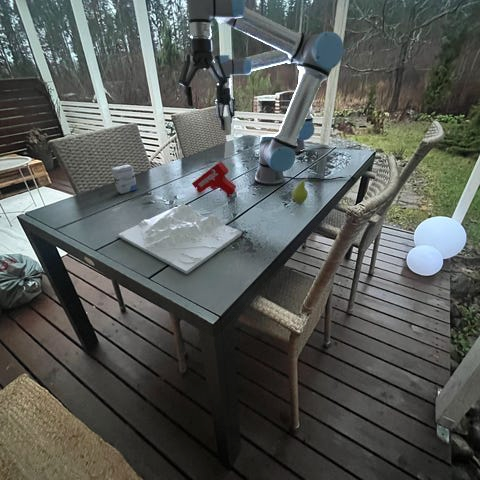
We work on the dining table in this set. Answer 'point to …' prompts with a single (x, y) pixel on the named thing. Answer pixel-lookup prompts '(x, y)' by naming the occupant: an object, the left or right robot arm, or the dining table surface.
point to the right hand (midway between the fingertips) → (226, 129)
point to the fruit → (300, 192)
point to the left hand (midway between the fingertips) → (205, 104)
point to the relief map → (181, 237)
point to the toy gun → (215, 180)
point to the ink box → (124, 178)
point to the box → (227, 125)
